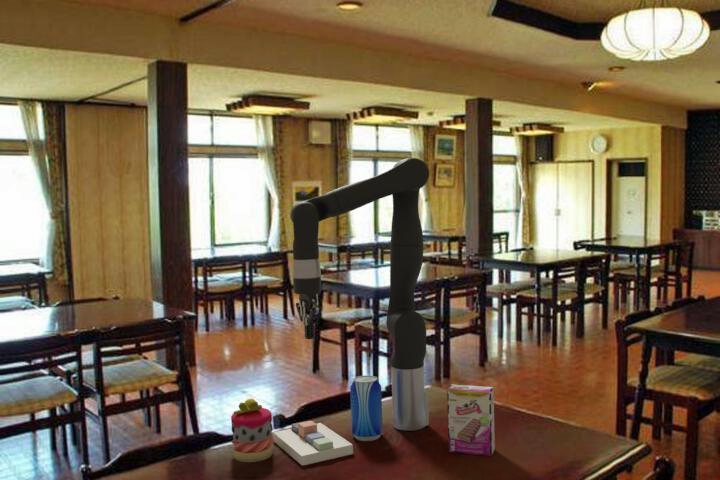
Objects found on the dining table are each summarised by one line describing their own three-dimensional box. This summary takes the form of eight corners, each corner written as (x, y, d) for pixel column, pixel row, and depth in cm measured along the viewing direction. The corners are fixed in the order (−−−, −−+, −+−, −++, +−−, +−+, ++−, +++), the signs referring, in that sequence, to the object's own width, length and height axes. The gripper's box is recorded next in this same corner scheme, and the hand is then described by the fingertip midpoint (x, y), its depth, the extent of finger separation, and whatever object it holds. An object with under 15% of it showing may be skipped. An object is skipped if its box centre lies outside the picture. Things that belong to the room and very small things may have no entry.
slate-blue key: (319, 446, 178) (318, 431, 178) (325, 451, 175) (324, 435, 175) (306, 449, 177) (305, 434, 176) (311, 454, 173) (311, 438, 173)
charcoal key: (305, 435, 187) (304, 421, 187) (310, 439, 184) (310, 425, 183) (292, 438, 185) (291, 424, 185) (297, 442, 182) (297, 428, 182)
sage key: (327, 452, 174) (326, 437, 174) (333, 457, 171) (332, 441, 171) (313, 455, 172) (312, 439, 172) (319, 460, 169) (318, 444, 169)
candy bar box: (447, 453, 170) (446, 389, 169) (451, 446, 175) (450, 383, 174) (492, 457, 167) (491, 391, 166) (495, 449, 172) (494, 386, 170)
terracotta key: (311, 435, 183) (311, 420, 182) (317, 439, 179) (317, 424, 179) (298, 437, 181) (298, 423, 181) (304, 442, 177) (303, 427, 177)
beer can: (380, 442, 180) (378, 383, 178) (349, 441, 181) (346, 382, 180) (385, 431, 188) (383, 374, 187) (355, 430, 189) (353, 374, 188)
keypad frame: (320, 431, 190) (320, 422, 190) (353, 453, 172) (352, 444, 172) (273, 441, 184) (273, 432, 183) (302, 465, 166) (301, 456, 166)
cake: (228, 452, 177) (225, 395, 176) (267, 444, 181) (265, 389, 180) (237, 465, 167) (234, 406, 166) (279, 457, 171) (276, 399, 171)
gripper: (329, 276, 180) (332, 340, 181) (310, 272, 192) (312, 333, 193) (303, 278, 177) (306, 344, 178) (285, 274, 188) (287, 336, 189)
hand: (309, 338), depth 185 cm, fingers closed
